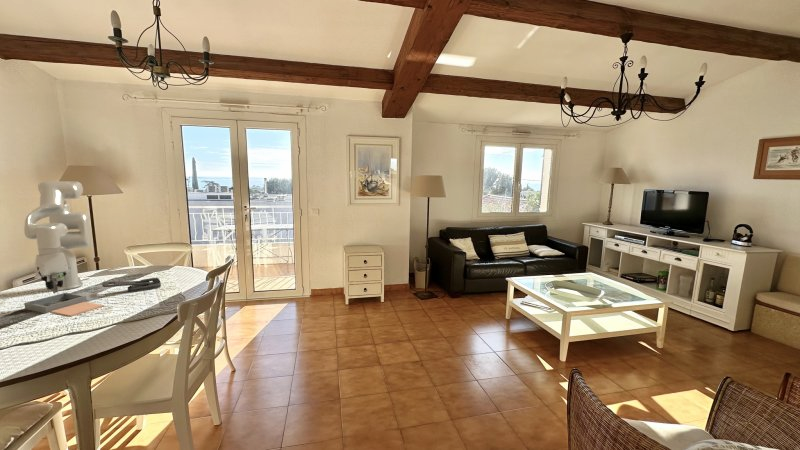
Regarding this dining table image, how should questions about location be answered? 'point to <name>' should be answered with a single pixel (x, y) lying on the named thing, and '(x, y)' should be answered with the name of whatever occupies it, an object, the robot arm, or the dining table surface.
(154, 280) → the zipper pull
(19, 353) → the dining table surface
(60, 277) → the mechanical component
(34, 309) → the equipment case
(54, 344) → the dining table surface
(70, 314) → the rubber mat
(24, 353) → the dining table surface
